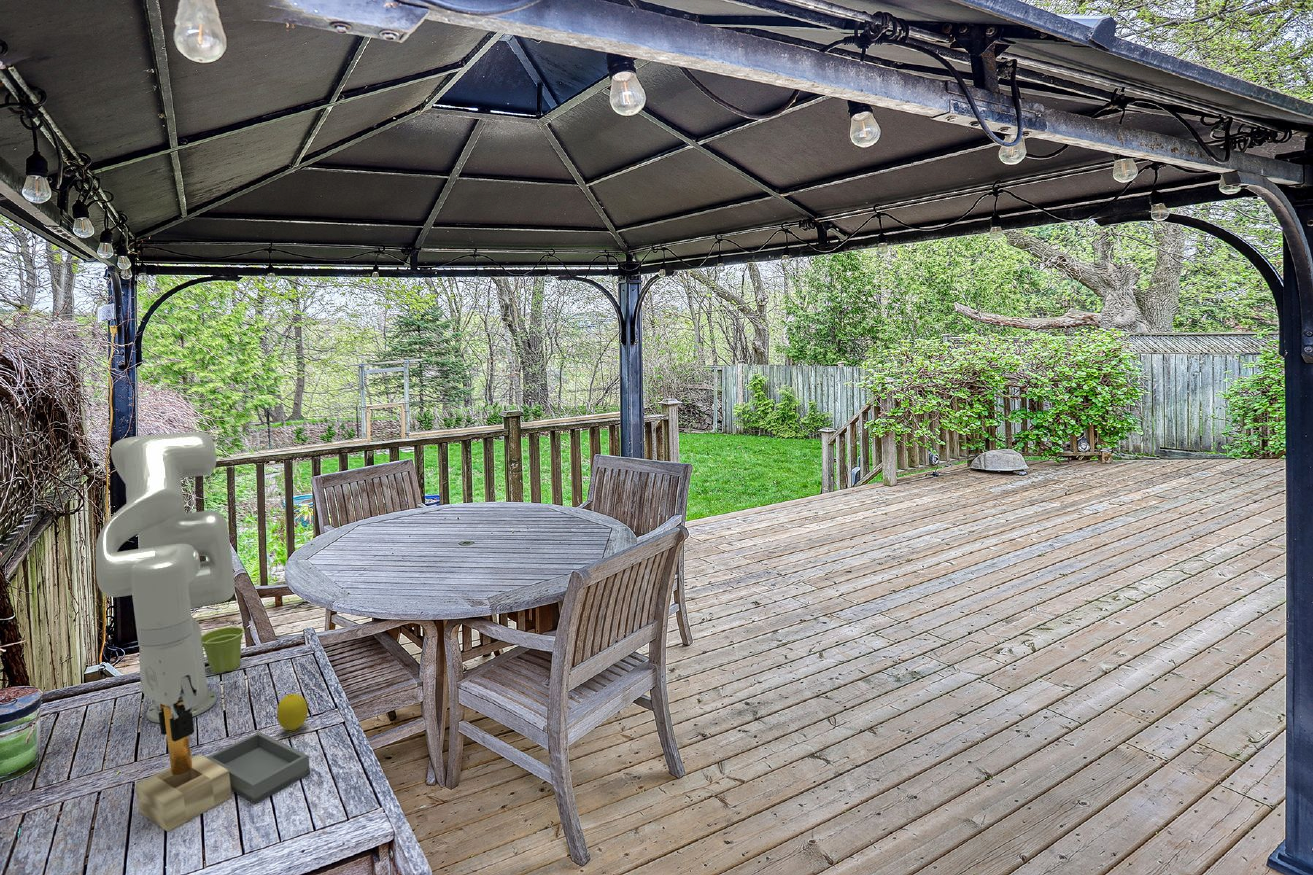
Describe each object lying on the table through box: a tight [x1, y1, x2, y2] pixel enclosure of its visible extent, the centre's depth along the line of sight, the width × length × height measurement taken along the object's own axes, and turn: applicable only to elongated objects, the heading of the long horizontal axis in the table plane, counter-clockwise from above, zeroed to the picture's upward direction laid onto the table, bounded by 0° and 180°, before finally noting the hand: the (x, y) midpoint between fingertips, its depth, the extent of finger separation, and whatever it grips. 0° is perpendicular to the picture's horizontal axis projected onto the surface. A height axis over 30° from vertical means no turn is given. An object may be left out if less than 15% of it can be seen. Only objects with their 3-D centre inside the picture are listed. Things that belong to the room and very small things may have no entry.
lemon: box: [276, 692, 309, 732], centre depth 142 cm, size 6×6×8 cm
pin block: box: [134, 753, 233, 832], centre depth 119 cm, size 10×10×5 cm
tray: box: [206, 731, 311, 805], centre depth 127 cm, size 16×10×4 cm, turn 59°
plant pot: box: [201, 626, 245, 674], centre depth 170 cm, size 9×9×9 cm
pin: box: [163, 701, 192, 775], centre depth 118 cm, size 3×3×12 cm
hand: (177, 732), depth 118 cm, fingers closed on pin, 3 cm apart
